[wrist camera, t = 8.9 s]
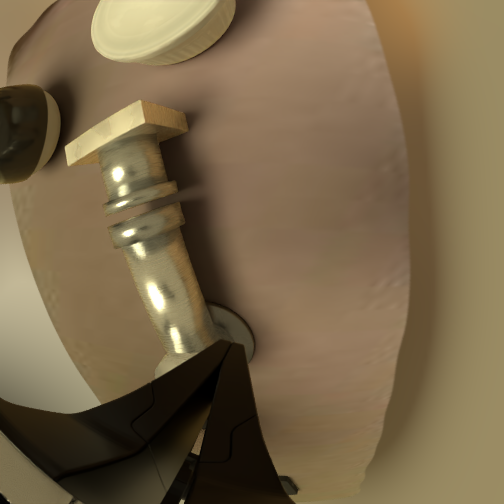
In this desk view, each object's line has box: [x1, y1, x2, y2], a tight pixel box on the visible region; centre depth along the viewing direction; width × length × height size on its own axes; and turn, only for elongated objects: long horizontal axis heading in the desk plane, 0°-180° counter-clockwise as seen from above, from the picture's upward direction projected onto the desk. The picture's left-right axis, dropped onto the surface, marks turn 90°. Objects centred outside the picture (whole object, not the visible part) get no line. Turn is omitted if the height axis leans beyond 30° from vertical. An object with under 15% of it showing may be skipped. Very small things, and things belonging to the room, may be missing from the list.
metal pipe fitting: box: [65, 100, 255, 364], centre depth 19 cm, size 23×8×6 cm, turn 14°
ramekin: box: [91, 0, 236, 66], centre depth 13 cm, size 11×11×5 cm
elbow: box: [107, 202, 235, 379], centre depth 19 cm, size 15×5×6 cm, turn 15°
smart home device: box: [279, 476, 298, 495], centre depth 35 cm, size 8×2×20 cm
